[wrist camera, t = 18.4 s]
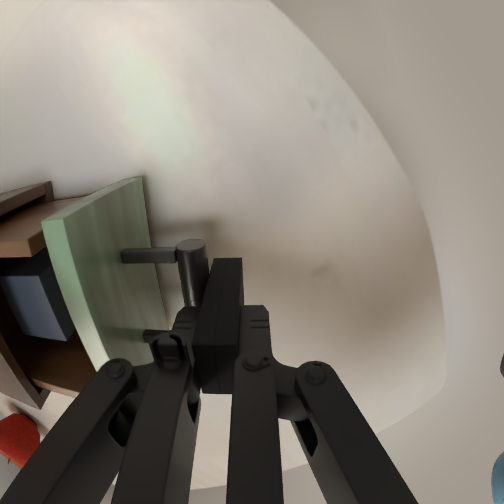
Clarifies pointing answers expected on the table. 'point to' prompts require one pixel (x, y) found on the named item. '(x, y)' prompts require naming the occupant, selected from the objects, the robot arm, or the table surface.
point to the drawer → (95, 282)
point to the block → (37, 297)
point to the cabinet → (3, 362)
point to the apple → (18, 438)
